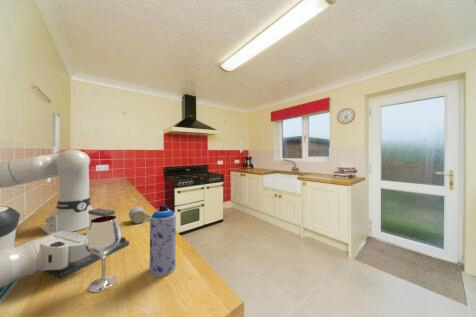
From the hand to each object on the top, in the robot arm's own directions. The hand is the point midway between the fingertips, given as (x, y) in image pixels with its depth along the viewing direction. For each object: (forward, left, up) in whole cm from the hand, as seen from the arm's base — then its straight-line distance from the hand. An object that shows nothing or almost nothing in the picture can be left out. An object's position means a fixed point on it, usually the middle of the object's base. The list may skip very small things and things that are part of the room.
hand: (96, 233), depth 63 cm
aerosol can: (+30, +1, -7) cm, 31 cm away
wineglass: (+19, -10, -7) cm, 23 cm away
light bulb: (-13, +29, -7) cm, 33 cm away
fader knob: (0, +2, -5) cm, 5 cm away
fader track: (0, -2, -7) cm, 7 cm away
